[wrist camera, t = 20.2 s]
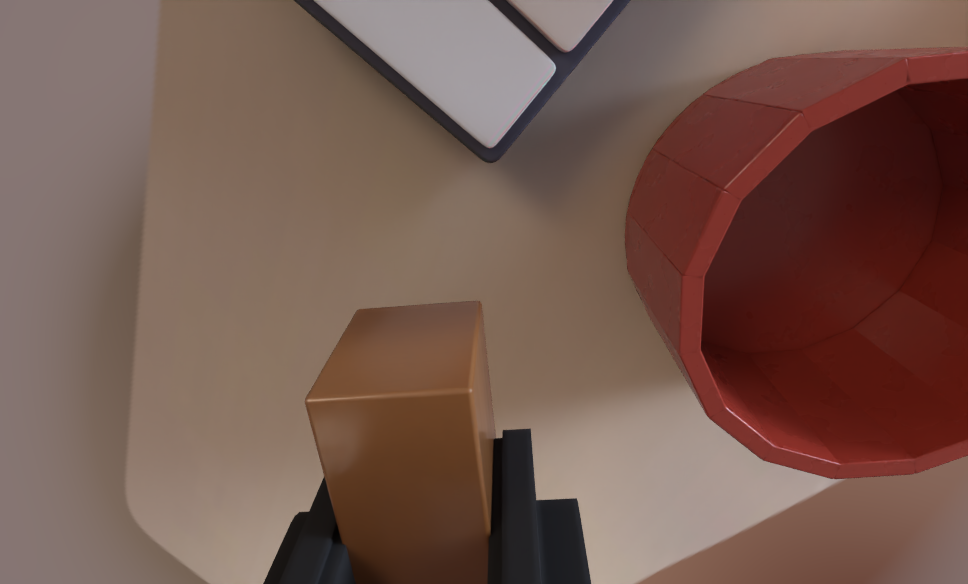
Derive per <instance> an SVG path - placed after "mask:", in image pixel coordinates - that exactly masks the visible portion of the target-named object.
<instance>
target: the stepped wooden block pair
mask: <svg viewBox="0 0 968 584" xmlns="http://www.w3.org/2000/svg"><path fill="white" fill-rule="evenodd" d="M305 404H306V408H307V412H308V416H309V420H310V423H311V427H312V431H313V435H314V439H315V442H316V446H317V450H318V454H319V458H320V461H321V465H322V469H323V473H324V476H325V480H326V484H327V488H328V492H329V495H330V499H331V503H332V507H333V511H334V514H335V518H336V522H337V526H338V530H339V533H340V537H341V541H342V544H344V545H346V548H347V552H348V556H349V559H350V563H351V567H352V571H353V575H354V578H355V582H356V584H487V576H488V546H489V537H490V535H491V518H492V484H493V449H494V439H495V438H496V433H495V424H494V414H493V405H492V396H491V386H490V377H489V367H488V358H487V349H486V339H485V330H484V320H483V311H482V304H481V302H480V301H466V302H452V303H439V304H425V305H411V306H398V307H384V308H370V309H359V310H357V311H356V312H355V314H354V316H353V318H352V319H351V321H350V323H349V324H348V326H347V328H346V330H345V331H344V333H343V335H342V336H341V338H340V340H339V342H338V343H337V345H336V347H335V348H334V350H333V352H332V354H331V355H330V357H329V359H328V361H327V362H326V364H325V366H324V367H323V369H322V371H321V373H320V374H319V376H318V378H317V379H316V381H315V383H314V385H313V386H312V388H311V390H310V391H309V393H308V395H307V397H306V399H305Z"/></svg>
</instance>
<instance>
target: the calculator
mask: <svg viewBox="0 0 968 584" xmlns="http://www.w3.org/2000/svg"><path fill="white" fill-rule="evenodd" d="M294 1H295V2H296V3H298V4H299V5H300V6H301V7H302V8H303V9H305V10H306V11H307V12H308V13H309V14H311V15H312V16H313V17H314V18H315V19H316V20H318V21H319V22H320V23H321V24H322V25H323V26H325V27H326V28H327V29H328V30H329V31H331V32H332V33H333V34H334V35H335V36H336V37H338V38H339V39H340V40H341V41H342V42H344V43H345V44H346V45H347V46H348V47H349V48H351V49H352V50H353V51H354V52H355V53H356V54H358V55H359V56H360V57H361V58H362V59H364V60H365V61H366V62H367V63H368V64H369V65H371V66H372V67H373V68H374V69H375V70H377V71H378V72H379V73H380V74H381V75H382V76H384V77H385V78H386V79H387V80H388V81H389V82H391V83H392V84H393V85H394V86H395V87H397V88H398V89H399V90H400V91H401V92H402V93H404V94H405V95H406V96H407V97H408V98H410V99H411V100H412V101H413V102H414V103H415V104H417V105H418V106H419V107H420V108H421V109H422V110H424V111H425V112H426V113H427V114H428V115H430V116H431V117H432V118H433V119H434V120H435V121H437V122H438V123H439V124H440V125H441V126H443V127H444V128H445V129H446V130H447V131H448V132H450V133H451V134H452V135H453V136H454V137H455V138H457V139H458V140H459V141H460V142H461V143H463V144H464V145H465V146H466V147H467V148H468V149H470V150H471V151H472V152H473V153H474V154H476V155H477V156H478V157H479V158H481V159H482V160H483V161H485V162H488V163H493V162H496V161H497V160H499V159H500V158H501V156H502V155H503V154H504V153H505V152H506V151H507V149H508V148H509V147H510V146H511V145H512V143H513V142H514V141H515V140H516V139H517V137H518V136H519V135H520V134H521V132H522V131H523V130H524V129H525V128H526V126H527V125H528V124H529V123H530V122H531V120H532V119H533V118H534V117H535V116H536V114H537V113H538V112H539V111H540V109H541V108H542V107H543V106H544V105H545V103H546V102H547V101H548V100H549V99H550V97H551V96H552V95H553V94H554V92H555V91H556V90H557V89H558V88H559V86H560V85H561V84H562V83H563V82H564V80H565V79H566V78H567V77H568V75H569V74H570V73H571V72H572V71H573V69H574V68H575V67H576V66H577V65H578V63H579V62H580V61H581V60H582V59H583V57H584V56H585V55H586V54H587V52H588V51H589V50H590V49H591V48H592V46H593V45H594V44H595V43H596V42H597V40H598V39H599V38H600V37H601V35H602V34H603V33H604V32H605V31H606V29H607V28H608V27H609V26H610V25H611V23H612V22H613V21H614V20H615V18H616V17H617V16H618V15H619V14H620V12H621V11H622V10H623V9H624V8H625V6H626V5H627V4H628V3H629V2H630V0H294Z"/></svg>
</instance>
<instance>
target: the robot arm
mask: <svg viewBox="0 0 968 584" xmlns="http://www.w3.org/2000/svg"><path fill="white" fill-rule="evenodd" d="M263 584H356V582H355V578H354V575H353V571H352V567H351V563H350V559H349V556H348V552H347V548H346V545H344V544H342V541H341V537H340V533H339V530H338V526H337V522H336V518H335V514H334V511H333V507H332V503H331V499H330V495H329V492H328V488H327V484H326V480H325V476H324V478H323V481H322V483H321V485H320V488H319V490H318V492H317V495H316V497H315V499H314V502H313V504H312V507H311V509H310V511H309V512H299V513H298V514H297V515H296V516H295V517H294V519H293V520H292V522H291V524H290V526H289V528H288V531H287V533H286V535H285V537H284V539H283V542H282V544H281V546H280V548H279V550H278V553H277V555H276V557H275V559H274V561H273V564H272V566H271V568H270V570H269V572H268V575H267V577H266V579H265V581H264V583H263ZM487 584H591V580H590V574H589V568H588V561H587V555H586V549H585V543H584V537H583V531H582V525H581V518H580V512H579V506H578V501H577V498H576V499H556V500H536V492H535V480H534V467H533V454H532V441H531V429H518V430H503V438H495V439H494V449H493V484H492V518H491V535H490V537H489V546H488V576H487Z"/></svg>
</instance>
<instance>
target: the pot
mask: <svg viewBox="0 0 968 584" xmlns="http://www.w3.org/2000/svg"><path fill="white" fill-rule="evenodd" d="M625 246H626V257H627V269H628V273H629V275H630V277H631V279H632V281H633V283H634V285H635V288H636V291H637V292H638V294H639V296H640V298H641V300H642V302H643V304H644V306H645V309H646V311H647V313H648V315H649V317H650V319H651V321H652V322H653V324H654V326H655V327H656V329H657V331H658V333H659V334H660V336H661V338H662V339H663V341H664V343H665V345H666V346H667V348H668V350H669V351H670V353H671V355H672V357H673V358H674V360H675V362H676V364H677V365H678V367H679V369H680V370H681V372H682V374H683V376H684V377H685V379H686V381H687V382H688V384H689V386H690V388H691V389H692V391H693V393H694V394H695V396H696V398H697V400H698V401H699V403H700V405H701V406H702V408H703V410H704V412H705V413H706V415H707V416H708V417H709V419H711V420H712V421H713V422H714V423H716V424H717V425H718V426H719V427H721V428H722V429H723V430H725V431H726V432H727V433H728V434H730V435H731V436H732V437H733V438H735V439H736V440H737V441H739V442H740V443H741V444H742V445H744V446H745V447H746V448H748V449H749V450H750V451H751V452H753V453H754V454H755V455H756V456H758V457H759V458H761V459H762V460H764V461H767V462H771V463H775V464H778V465H782V466H786V467H790V468H793V469H797V470H801V471H804V472H808V473H812V474H816V475H819V476H823V477H827V478H831V479H833V478H834V479H845V478H861V477H877V476H893V475H908V474H914V473H919V472H921V471H924V470H928V469H930V468H933V467H936V466H939V465H942V464H944V463H948V462H950V461H953V460H956V459H959V458H962V457H965V456H968V47H949V48H914V49H880V50H845V51H834V52H825V53H816V54H802V55H795V56H788V57H779V58H772V59H768V60H766V61H764V62H763V63H761V64H759V65H755V66H753V67H750V68H748V69H746V70H744V71H742V72H739V73H737V74H735V75H733V76H731V77H729V78H727V79H726V80H724V81H722V82H721V83H719V84H717V85H716V86H714V87H712V88H711V89H709V90H708V91H707V92H705V93H704V94H703V95H702V96H700V97H699V98H698V99H696V100H695V101H694V102H692V103H691V104H690V105H689V106H688V107H687V108H686V109H685V110H684V111H683V112H682V113H681V114H680V115H679V116H678V117H677V118H676V119H675V120H674V121H673V122H672V123H671V124H670V126H669V127H668V128H667V129H666V130H665V132H664V133H663V134H662V135H661V137H660V138H659V139H658V141H657V142H656V144H655V145H654V147H653V149H652V150H651V152H650V153H649V155H648V156H647V158H646V160H645V162H644V164H643V166H642V168H641V170H640V172H639V175H638V177H637V179H636V182H635V185H634V188H633V191H632V194H631V197H630V201H629V206H628V211H627V216H626V227H625Z"/></svg>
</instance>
